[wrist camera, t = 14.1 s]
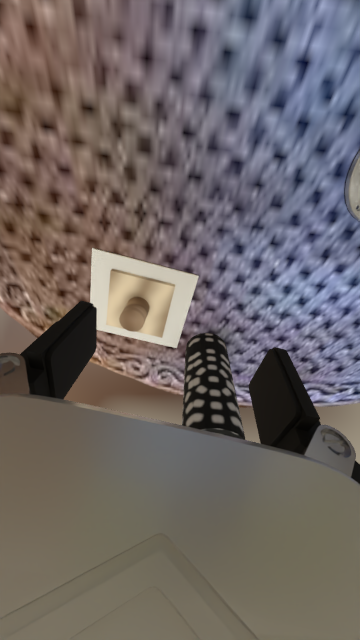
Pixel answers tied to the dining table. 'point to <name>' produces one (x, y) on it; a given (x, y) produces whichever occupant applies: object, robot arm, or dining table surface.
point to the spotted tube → (210, 388)
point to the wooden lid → (138, 303)
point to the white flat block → (181, 279)
